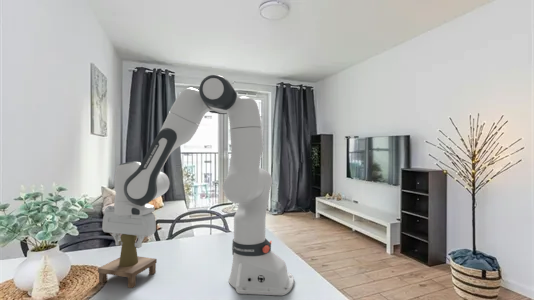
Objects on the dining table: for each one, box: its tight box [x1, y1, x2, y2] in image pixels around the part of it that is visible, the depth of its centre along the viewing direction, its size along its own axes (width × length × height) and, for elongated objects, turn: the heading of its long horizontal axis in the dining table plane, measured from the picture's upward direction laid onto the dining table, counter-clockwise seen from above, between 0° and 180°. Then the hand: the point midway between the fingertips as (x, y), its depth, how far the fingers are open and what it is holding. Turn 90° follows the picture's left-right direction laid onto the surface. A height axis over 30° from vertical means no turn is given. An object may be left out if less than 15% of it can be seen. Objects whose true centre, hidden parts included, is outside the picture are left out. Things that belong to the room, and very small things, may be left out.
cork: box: [119, 234, 138, 267], centre depth 95 cm, size 6×6×11 cm
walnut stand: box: [97, 255, 157, 289], centre depth 95 cm, size 14×12×5 cm
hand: (128, 246), depth 95 cm, fingers open, 7 cm apart
